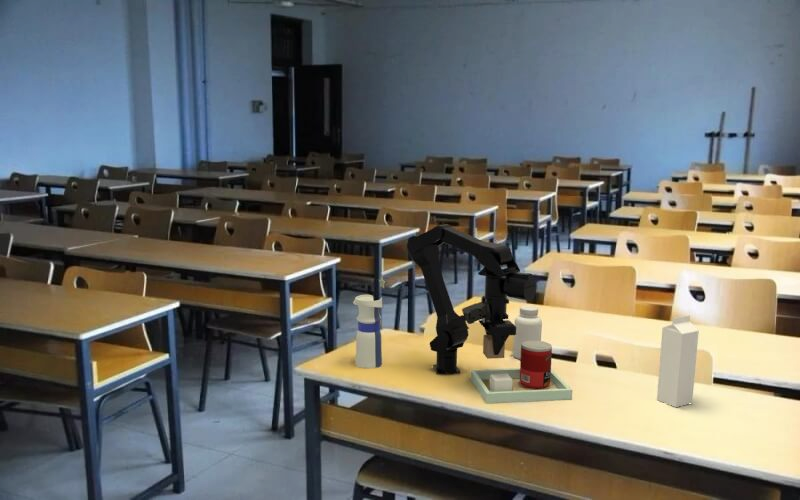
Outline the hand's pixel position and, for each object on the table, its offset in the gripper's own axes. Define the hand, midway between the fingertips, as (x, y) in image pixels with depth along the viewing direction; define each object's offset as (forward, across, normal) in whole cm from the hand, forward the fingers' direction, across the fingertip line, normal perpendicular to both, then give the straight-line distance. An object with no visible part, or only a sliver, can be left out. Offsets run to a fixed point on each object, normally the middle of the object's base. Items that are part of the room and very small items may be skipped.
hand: (493, 351), depth 189 cm
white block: (+9, +8, 0) cm, 12 cm away
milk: (+9, +17, +42) cm, 46 cm away
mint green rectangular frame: (+9, +4, +6) cm, 12 cm away
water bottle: (+9, -20, -31) cm, 38 cm away
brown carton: (+1, 0, 0) cm, 1 cm away
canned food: (+9, +2, +11) cm, 14 cm away
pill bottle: (+9, -20, +16) cm, 28 cm away
